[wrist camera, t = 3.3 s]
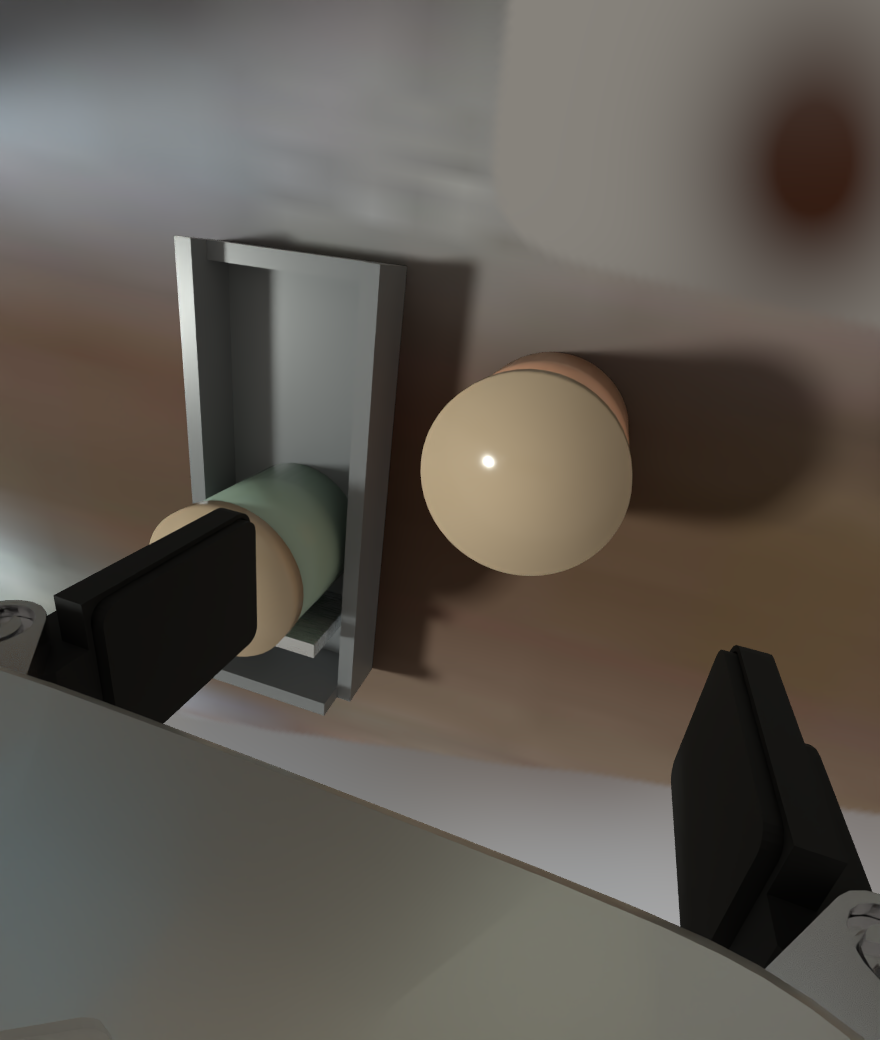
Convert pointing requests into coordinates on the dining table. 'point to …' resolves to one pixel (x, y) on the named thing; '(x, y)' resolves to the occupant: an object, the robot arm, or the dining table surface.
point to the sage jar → (282, 541)
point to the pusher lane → (296, 417)
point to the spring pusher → (315, 626)
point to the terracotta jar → (531, 465)
